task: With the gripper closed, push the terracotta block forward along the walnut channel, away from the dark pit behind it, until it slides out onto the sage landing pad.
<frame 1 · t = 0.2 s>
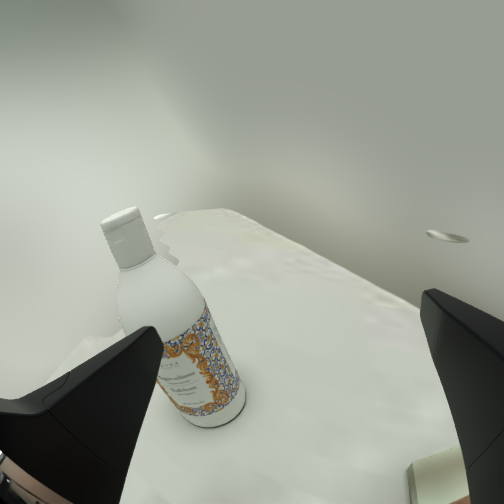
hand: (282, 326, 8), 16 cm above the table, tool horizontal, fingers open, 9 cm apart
bath foam: (215, 403, 25), on the table
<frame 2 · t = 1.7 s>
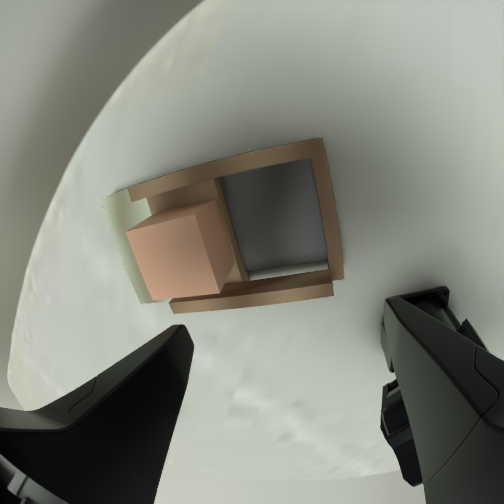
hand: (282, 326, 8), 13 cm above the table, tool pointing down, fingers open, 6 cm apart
block: (192, 238, 20), point 2 cm above the table, touching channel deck
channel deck: (216, 226, 21), on the table
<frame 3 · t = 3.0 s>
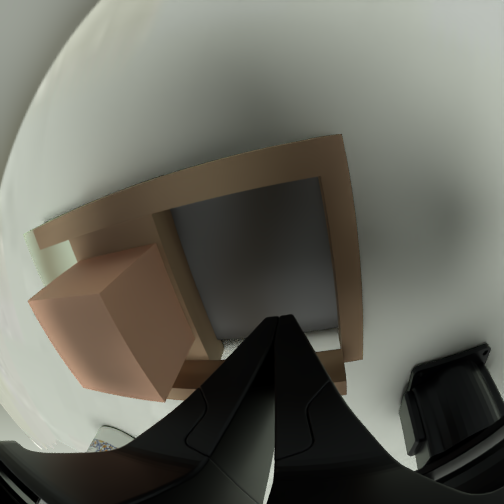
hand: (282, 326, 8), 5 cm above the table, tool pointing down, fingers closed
block: (133, 299, 12), point 2 cm above the table, touching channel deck
bath foam: (125, 438, 26), on the table
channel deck: (170, 277, 14), on the table
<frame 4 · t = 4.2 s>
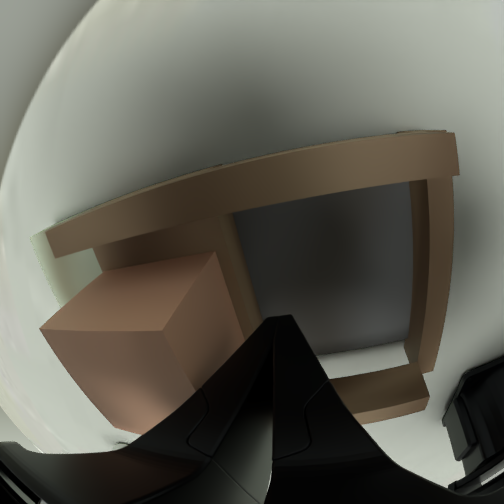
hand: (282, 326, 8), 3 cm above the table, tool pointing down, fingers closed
block: (175, 320, 10), point 2 cm above the table, touching gripper
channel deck: (221, 289, 12), on the table
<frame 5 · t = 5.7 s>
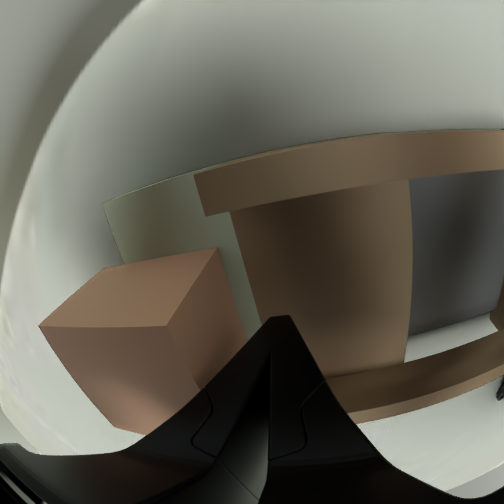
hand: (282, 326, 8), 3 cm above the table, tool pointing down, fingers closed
block: (176, 317, 10), point 2 cm above the table, touching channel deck, gripper
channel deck: (360, 266, 10), on the table
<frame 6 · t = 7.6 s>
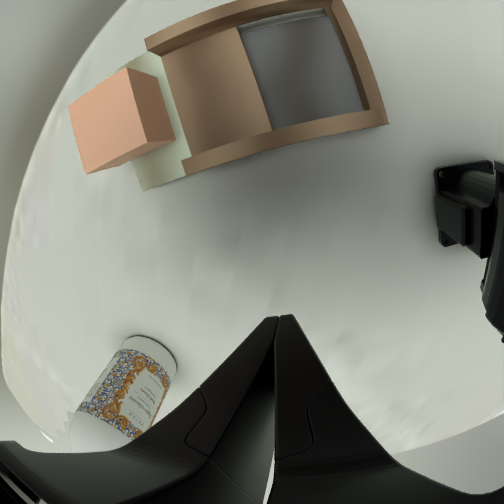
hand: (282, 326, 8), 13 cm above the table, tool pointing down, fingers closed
block: (136, 121, 16), point 2 cm above the table, touching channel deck
bath foam: (151, 355, 29), on the table
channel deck: (237, 87, 17), on the table
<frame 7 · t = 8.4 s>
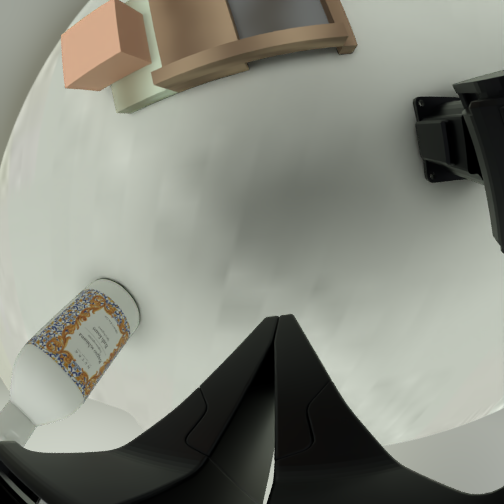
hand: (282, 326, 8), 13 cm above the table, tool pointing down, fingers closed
block: (119, 51, 14), point 2 cm above the table, touching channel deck
bath foam: (115, 304, 27), on the table
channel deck: (214, 22, 15), on the table
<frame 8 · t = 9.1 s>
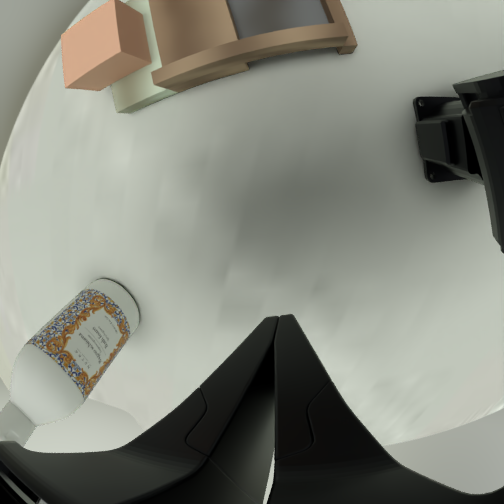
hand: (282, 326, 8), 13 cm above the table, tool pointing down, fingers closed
block: (119, 51, 14), point 2 cm above the table, touching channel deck
bath foam: (115, 303, 27), on the table
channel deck: (214, 22, 15), on the table
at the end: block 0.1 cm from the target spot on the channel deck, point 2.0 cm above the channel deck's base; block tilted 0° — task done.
